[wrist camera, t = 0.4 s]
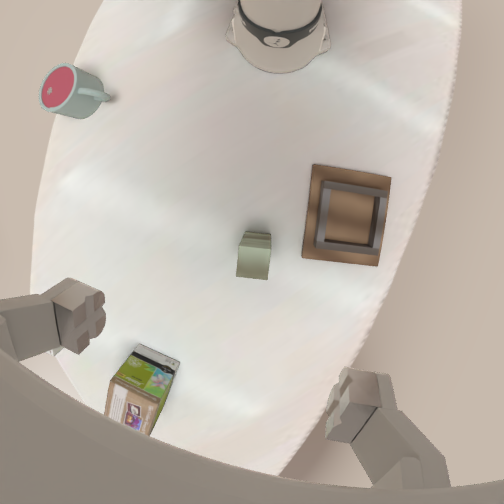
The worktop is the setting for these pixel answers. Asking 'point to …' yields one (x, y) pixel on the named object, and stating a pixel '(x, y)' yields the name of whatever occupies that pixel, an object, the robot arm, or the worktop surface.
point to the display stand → (346, 216)
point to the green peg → (254, 256)
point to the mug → (71, 92)
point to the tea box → (140, 389)
